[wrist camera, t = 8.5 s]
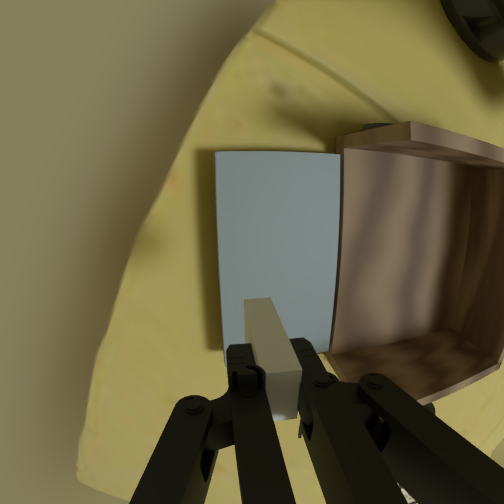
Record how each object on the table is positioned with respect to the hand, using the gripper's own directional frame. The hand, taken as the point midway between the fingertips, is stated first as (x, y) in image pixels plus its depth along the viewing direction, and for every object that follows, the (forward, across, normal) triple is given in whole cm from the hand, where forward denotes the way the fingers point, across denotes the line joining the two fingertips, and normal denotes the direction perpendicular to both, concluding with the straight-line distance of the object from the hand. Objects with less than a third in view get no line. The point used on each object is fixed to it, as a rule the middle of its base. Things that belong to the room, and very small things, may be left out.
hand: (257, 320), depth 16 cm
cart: (+13, +19, 0) cm, 23 cm away
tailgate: (+11, +9, 0) cm, 14 cm away
